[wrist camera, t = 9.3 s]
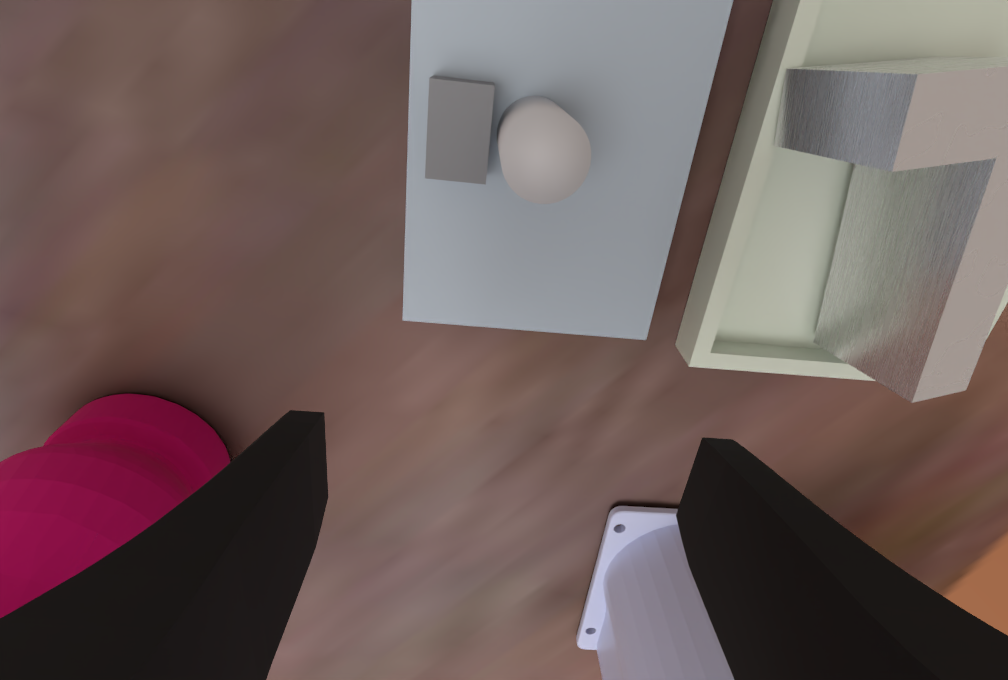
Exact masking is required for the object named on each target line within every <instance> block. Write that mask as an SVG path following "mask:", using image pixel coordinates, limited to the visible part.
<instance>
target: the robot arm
mask: <svg viewBox="0 0 1008 680" xmlns="http://www.w3.org/2000/svg"><path fill="white" fill-rule="evenodd" d="M327 499H328V484H327V463H326V442H325V420H324V413H323V412H307V411H292V410H290V411H289V412H288V413H286V414H285V415H284V416H283V417H282V418H280V419H279V420H278V421H277V422H276V423H275V424H274V425H272V426H271V427H270V428H269V429H268V430H267V431H266V432H265V433H263V434H262V435H261V436H260V437H259V438H258V439H257V440H256V441H255V442H253V443H252V444H251V445H250V446H249V447H248V448H247V449H245V450H244V451H243V452H242V453H241V454H240V455H239V456H237V457H236V458H235V459H234V460H233V461H232V462H230V463H229V464H228V465H227V466H226V467H224V468H223V469H222V470H221V471H220V472H219V473H217V474H216V475H215V476H214V477H213V478H211V479H210V480H209V481H208V482H207V483H205V484H204V485H203V486H202V487H200V488H199V489H198V490H197V491H195V492H194V493H193V494H192V495H190V496H189V497H188V498H186V499H185V500H184V501H182V502H181V503H180V504H178V505H177V506H176V507H175V508H173V509H172V510H171V511H169V512H168V513H167V514H165V515H164V516H163V517H162V518H160V519H159V520H158V521H156V522H155V523H153V524H152V525H151V526H149V527H148V528H147V529H145V530H144V531H142V532H141V533H139V534H138V535H137V536H135V537H134V538H132V539H131V540H129V541H128V542H126V543H125V544H123V545H122V546H120V547H119V548H117V549H116V550H114V551H113V552H111V553H109V554H108V555H106V556H105V557H103V558H102V559H100V560H99V561H97V562H96V563H94V564H93V565H91V566H89V567H88V568H86V569H84V570H83V571H81V572H80V573H78V574H76V575H75V576H73V577H71V578H69V579H68V580H66V581H64V582H62V583H61V584H59V585H57V586H56V587H54V588H52V589H50V590H49V591H47V592H45V593H43V594H42V595H40V596H38V597H37V598H35V599H33V600H31V601H30V602H28V603H26V604H24V605H23V606H21V607H19V608H18V609H16V610H14V611H12V612H11V613H9V614H7V615H5V616H4V617H2V618H0V680H266V678H267V675H268V672H269V670H270V667H271V664H272V661H273V659H274V656H275V654H276V651H277V648H278V646H279V643H280V640H281V638H282V635H283V633H284V630H285V627H286V625H287V622H288V619H289V617H290V614H291V612H292V609H293V606H294V604H295V601H296V599H297V596H298V593H299V591H300V588H301V585H302V583H303V580H304V577H305V575H306V572H307V569H308V567H309V564H310V561H311V559H312V556H313V553H314V550H315V548H316V544H317V540H318V536H319V532H320V528H321V525H322V520H323V516H324V512H325V508H326V504H327ZM619 524H622V525H620V526H616V525H619ZM576 640H577V645H578V647H580V648H582V649H588V650H597V653H598V659H599V664H600V669H601V674H602V679H603V680H1008V636H1007V635H1006V634H1004V633H1002V632H1000V631H999V630H997V629H995V628H993V627H992V626H990V625H988V624H987V623H985V622H983V621H981V620H980V619H978V618H977V617H975V616H973V615H972V614H970V613H968V612H967V611H965V610H963V609H961V608H960V607H959V606H957V605H955V604H954V603H952V602H951V601H949V600H948V599H946V598H945V597H943V596H942V595H940V594H939V593H937V592H935V591H934V590H932V589H931V588H929V587H928V586H926V585H925V584H923V583H922V582H920V581H918V580H917V579H915V578H914V577H912V576H911V575H909V574H908V573H906V572H905V571H904V570H902V569H901V568H899V567H898V566H896V565H895V564H893V563H892V562H891V561H889V560H888V559H886V558H885V557H884V556H882V555H881V554H880V553H878V552H877V551H875V550H874V549H873V548H871V547H870V546H869V545H867V544H866V543H864V542H863V541H862V540H860V539H859V538H858V537H856V536H855V535H854V534H852V533H851V532H850V531H848V530H847V529H846V528H844V527H843V526H842V525H840V524H839V523H838V522H837V521H835V520H834V519H833V518H831V517H830V516H829V515H828V514H826V513H825V512H824V511H822V510H821V509H820V508H819V507H817V506H816V505H815V504H814V503H812V502H811V501H810V500H809V499H807V498H806V497H805V496H804V495H802V494H801V493H800V492H799V491H798V490H796V489H795V488H794V487H793V486H791V485H790V484H789V483H788V482H786V481H785V480H784V479H783V478H782V477H780V476H779V475H778V474H777V473H775V472H774V471H773V470H772V469H770V468H769V467H768V466H767V465H766V464H764V463H763V462H762V461H761V460H759V459H758V458H757V457H756V456H754V455H753V454H752V453H750V452H749V451H748V450H746V449H745V448H744V447H742V446H741V445H740V444H738V443H737V442H735V441H734V440H732V439H716V438H702V440H701V443H700V446H699V449H698V452H697V455H696V458H695V461H694V464H693V467H692V470H691V473H690V475H689V478H688V481H687V484H686V487H685V490H684V493H683V496H682V499H681V502H680V505H679V508H678V509H671V508H652V507H634V506H617V507H615V508H613V509H612V510H611V511H610V513H609V516H608V519H607V523H606V527H605V531H604V534H603V538H602V542H601V546H600V550H599V553H598V557H597V561H596V565H595V568H594V572H593V576H592V580H591V584H590V587H589V591H588V595H587V599H586V602H585V606H584V610H583V614H582V618H581V621H580V625H579V629H578V633H577V636H576Z"/></svg>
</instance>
